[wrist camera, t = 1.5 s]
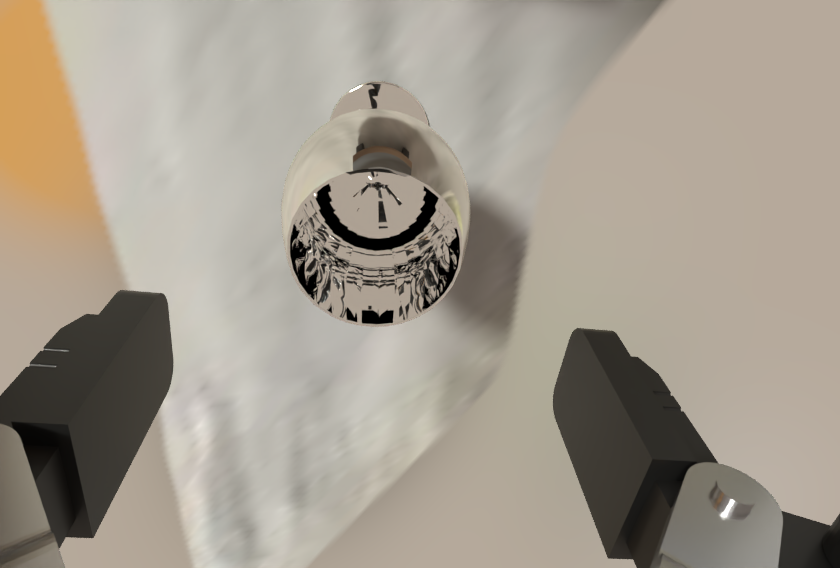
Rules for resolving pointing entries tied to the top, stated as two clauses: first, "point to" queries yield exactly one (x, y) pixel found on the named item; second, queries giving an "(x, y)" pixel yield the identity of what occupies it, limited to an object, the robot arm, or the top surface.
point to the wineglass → (375, 210)
